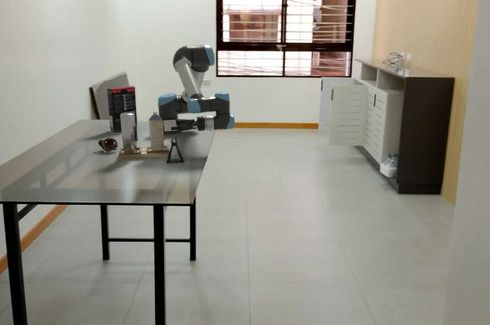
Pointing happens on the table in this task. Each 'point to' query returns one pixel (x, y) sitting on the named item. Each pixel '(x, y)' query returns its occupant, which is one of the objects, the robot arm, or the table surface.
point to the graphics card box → (121, 105)
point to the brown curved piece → (108, 144)
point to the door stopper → (177, 151)
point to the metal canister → (129, 132)
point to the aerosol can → (156, 132)
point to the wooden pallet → (143, 153)
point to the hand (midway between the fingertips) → (163, 125)
